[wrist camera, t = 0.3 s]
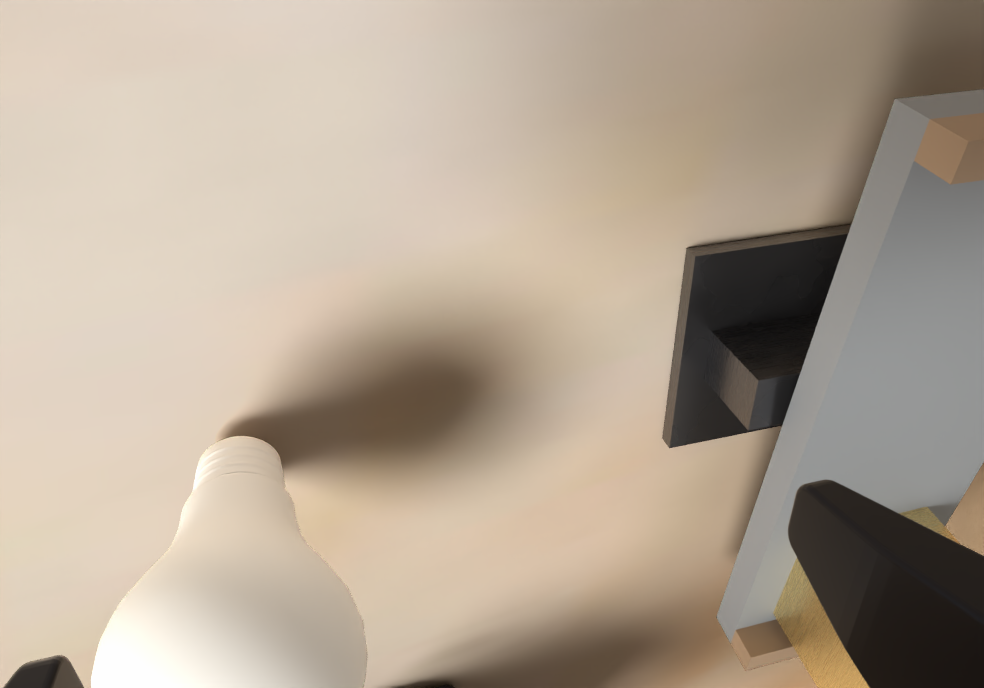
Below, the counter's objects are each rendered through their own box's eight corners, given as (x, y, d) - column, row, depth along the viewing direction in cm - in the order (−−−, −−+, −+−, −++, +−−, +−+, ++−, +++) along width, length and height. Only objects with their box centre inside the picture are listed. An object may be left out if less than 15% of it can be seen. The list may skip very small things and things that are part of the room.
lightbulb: (171, 348, 22) (117, 686, 13) (366, 401, 25) (431, 712, 16) (111, 502, 24) (30, 879, 15) (296, 535, 27) (318, 872, 18)
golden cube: (882, 585, 31) (971, 703, 28) (772, 613, 30) (849, 739, 27) (927, 506, 28) (1034, 628, 24) (806, 534, 27) (898, 666, 23)
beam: (883, 574, 33) (920, 623, 32) (716, 617, 32) (745, 671, 30) (1165, 69, 20) (1260, 105, 18) (894, 99, 18) (968, 141, 16)
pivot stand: (930, 384, 32) (999, 439, 29) (662, 438, 29) (708, 503, 26) (995, 203, 27) (1084, 246, 24) (686, 248, 25) (744, 301, 22)
